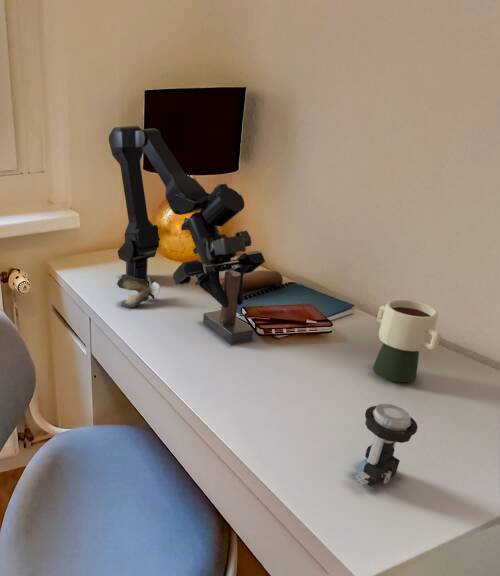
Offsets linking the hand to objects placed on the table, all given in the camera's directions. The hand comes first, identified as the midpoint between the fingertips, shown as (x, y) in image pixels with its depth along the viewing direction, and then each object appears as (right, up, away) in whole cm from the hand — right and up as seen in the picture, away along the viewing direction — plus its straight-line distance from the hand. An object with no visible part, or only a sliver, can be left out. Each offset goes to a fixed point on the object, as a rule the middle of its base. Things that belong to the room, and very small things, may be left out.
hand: (233, 305), depth 92 cm
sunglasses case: (+10, +4, +25) cm, 27 cm away
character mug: (+24, -12, -12) cm, 29 cm away
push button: (+7, -21, -33) cm, 39 cm away
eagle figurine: (-17, 0, +19) cm, 25 cm away
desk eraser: (0, -6, +4) cm, 7 cm away
